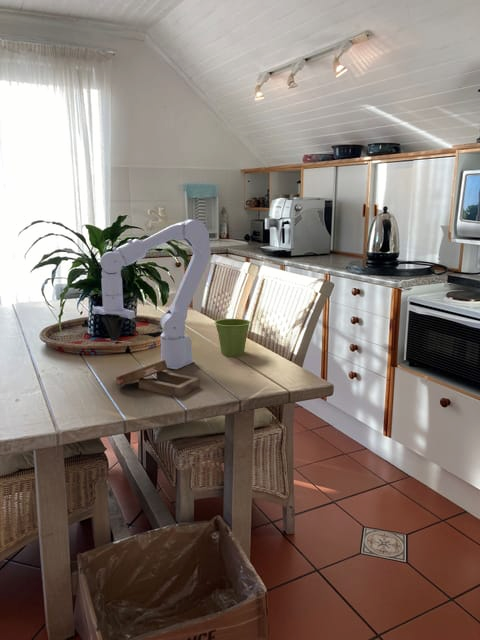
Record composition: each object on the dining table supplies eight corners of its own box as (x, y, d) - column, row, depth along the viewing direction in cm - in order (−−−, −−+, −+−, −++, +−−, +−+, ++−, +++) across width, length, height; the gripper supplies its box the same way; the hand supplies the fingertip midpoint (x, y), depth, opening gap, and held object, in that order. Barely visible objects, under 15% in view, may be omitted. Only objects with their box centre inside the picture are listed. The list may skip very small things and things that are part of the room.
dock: (160, 379, 148) (159, 370, 147) (199, 387, 141) (199, 378, 141) (138, 388, 140) (138, 379, 140) (179, 397, 134) (179, 388, 133)
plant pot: (257, 354, 174) (257, 320, 171) (237, 362, 164) (237, 327, 162) (228, 348, 180) (227, 316, 178) (207, 356, 170) (206, 322, 168)
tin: (154, 363, 151) (170, 355, 145) (158, 373, 151) (174, 366, 145) (109, 379, 141) (124, 371, 135) (114, 390, 140) (128, 383, 134)
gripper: (83, 293, 151) (86, 339, 153) (121, 298, 144) (124, 346, 146) (101, 290, 157) (103, 334, 159) (139, 294, 149) (140, 340, 152)
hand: (114, 340), depth 153 cm, fingers closed
